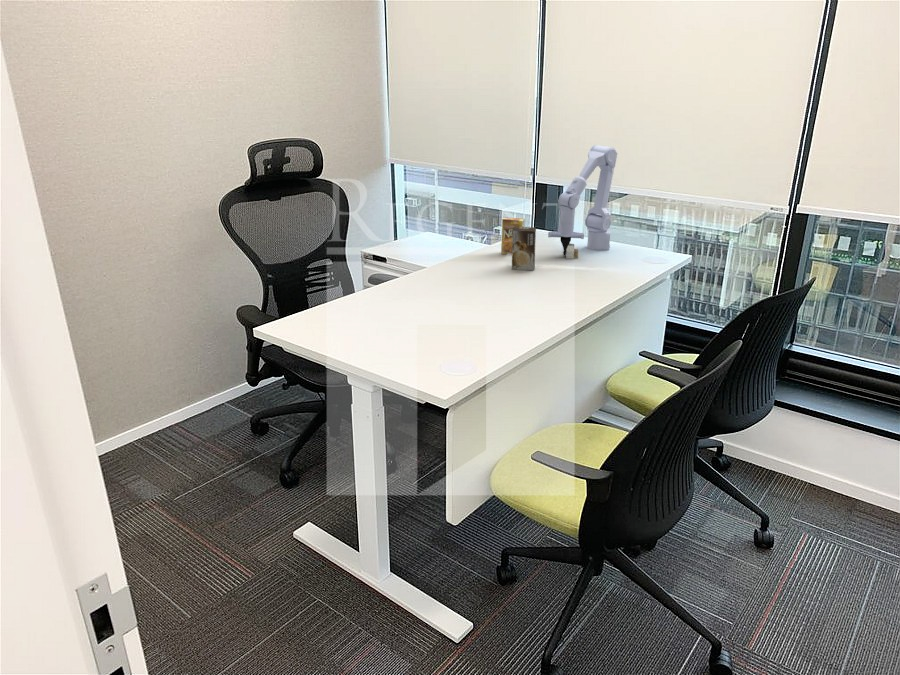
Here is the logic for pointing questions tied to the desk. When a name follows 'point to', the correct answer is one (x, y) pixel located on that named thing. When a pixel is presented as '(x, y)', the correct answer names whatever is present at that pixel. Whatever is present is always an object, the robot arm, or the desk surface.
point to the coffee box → (523, 248)
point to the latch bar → (570, 251)
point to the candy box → (509, 232)
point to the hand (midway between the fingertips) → (564, 254)
